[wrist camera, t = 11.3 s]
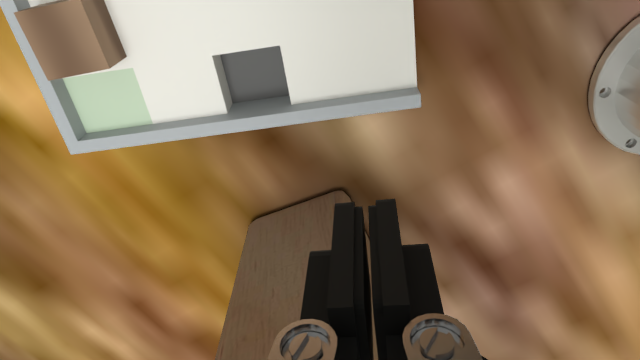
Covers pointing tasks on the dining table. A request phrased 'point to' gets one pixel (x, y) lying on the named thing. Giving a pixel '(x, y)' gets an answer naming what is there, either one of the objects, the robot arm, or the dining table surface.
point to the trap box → (232, 68)
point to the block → (277, 276)
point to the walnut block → (71, 37)
